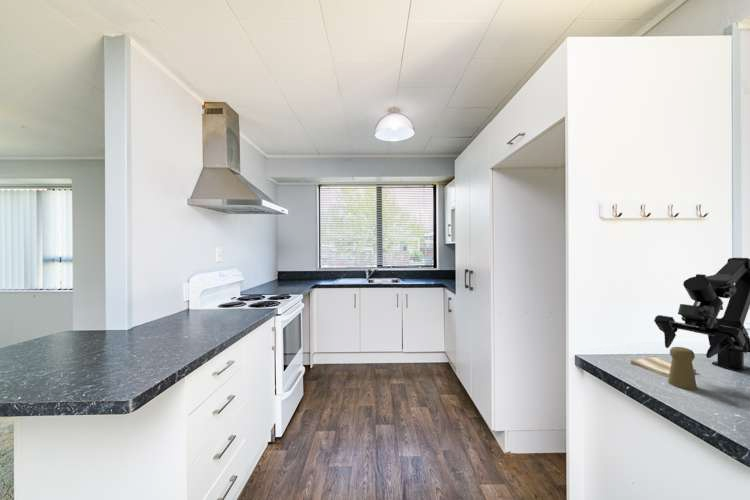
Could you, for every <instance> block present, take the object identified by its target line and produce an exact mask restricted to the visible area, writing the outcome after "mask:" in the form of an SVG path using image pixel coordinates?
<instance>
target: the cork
mask: <svg viewBox="0 0 750 500" xmlns="http://www.w3.org/2000/svg"><path fill="white" fill-rule="evenodd" d="M669 354H670V357H671V362H672V363H671V368H670V374H669V377H668V380H667V383H668V384H669V385H671V386H674V387H676V388H679V389H683V390H689V391H694V390H697V389H698V387H697V381H696V376H695V373H694V369H695V368H694V365H693V361H694V360H695V357H696V355H695V353H694V351H693V350H692V349H691V348H686V347H684V346H683V347H682V346H672V347H671V348H670V349H669Z"/></svg>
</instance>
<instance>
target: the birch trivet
mask: <svg viewBox="0 0 750 500" xmlns="http://www.w3.org/2000/svg"><path fill="white" fill-rule="evenodd" d="M671 363H672V361H669V360H667V359H663V358H661V357H657V356H654V357H646V358H639V359H633V360H630V364H631V365H634V366H637V367H639V368H642V369H645V370H648V371H650V372H653V373H657V374H660V375H662V376H665V377H668V378H669V374H670V368H671ZM693 369H694V374H696V373H697V369H695V368H693Z"/></svg>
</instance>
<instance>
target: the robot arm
mask: <svg viewBox="0 0 750 500" xmlns="http://www.w3.org/2000/svg"><path fill="white" fill-rule="evenodd" d="M682 285H683V287H684V289H685V290H686V293H687V294H688V296H689V298H690V299H691V300H693V301H694V302H693V304H692V305H691V304H685V303H684V304H683V303H680V304H679V307H678V312H677V315H680V316H681V320H682V321H683V322H684V323H683V322H679V321H678V322H677V321H675V318H674V317H673V316H668V315H661V314H659V315H656V316H655V317H654V320H653V322H654V323H655V325H656V326H657V328H658V329H659V330H660V331H661V332H663V334H664V335H663V336H664V337H663V338H664V346H665V348H666V349H669V348H670V346H671V345H672V343H673V341H674V340H675V338H676V336H677V334H676V333H677V332H678V330H682V331H688V332H693V333H697V334H701V335H706V336H707V338H708V343H709V348H708V349H707V352H706V354H705V357H706V358H707V359H711V358H712V357H714V356H715V355H717V359H716V360H717V361H712V362H711V365H714V366H715V365H716V366H718V367H722V368H725V369H728V370H731V371H736V372H741V371H745V370H750V366H747V365H744V364H745V354H748V353H749V354H750V336H749V332H748V331H747V329H746V327H745V326H744V324H745V320H746V318H747V315H748V312H749V310H750V258H748V257H729V258H728V259H727V262H726V264H724V265H723V266H722V267H721V268H720V269H719V270H718V271H717V272H716V273H715V274H711V275H706V274H700V273H699V274H698V273H697V274H696V275H695V276H692V277H689V278H687V279H686V280H684V281H683V284H682ZM722 299H729V300H728V302H727V306H726V308H725V311H724V314H723V316H722V317H718V316H719V314H720V311H723V310H724V307H723V305H724V301H723V300H722Z"/></svg>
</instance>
